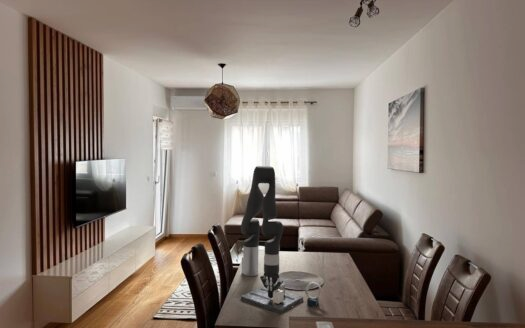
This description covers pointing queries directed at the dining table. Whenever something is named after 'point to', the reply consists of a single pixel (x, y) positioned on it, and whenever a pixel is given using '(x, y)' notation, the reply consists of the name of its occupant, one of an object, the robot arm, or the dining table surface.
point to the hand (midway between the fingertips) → (271, 297)
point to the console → (271, 300)
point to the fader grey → (282, 287)
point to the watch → (312, 300)
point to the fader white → (278, 296)
